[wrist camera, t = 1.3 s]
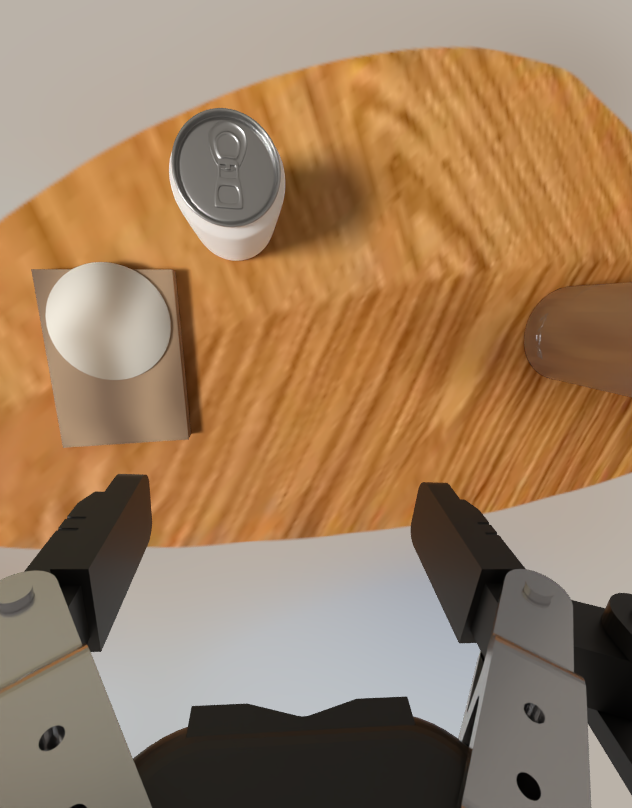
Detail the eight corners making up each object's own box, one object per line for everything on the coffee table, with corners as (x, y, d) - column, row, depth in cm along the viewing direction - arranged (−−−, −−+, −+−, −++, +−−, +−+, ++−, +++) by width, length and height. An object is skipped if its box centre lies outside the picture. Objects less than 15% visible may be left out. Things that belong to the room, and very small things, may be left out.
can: (274, 179, 32) (290, 105, 20) (274, 263, 33) (288, 239, 22) (191, 172, 31) (158, 89, 19) (194, 259, 32) (165, 231, 21)
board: (174, 264, 32) (170, 262, 30) (190, 434, 35) (188, 440, 34) (40, 264, 30) (27, 261, 29) (70, 441, 34) (61, 448, 32)
